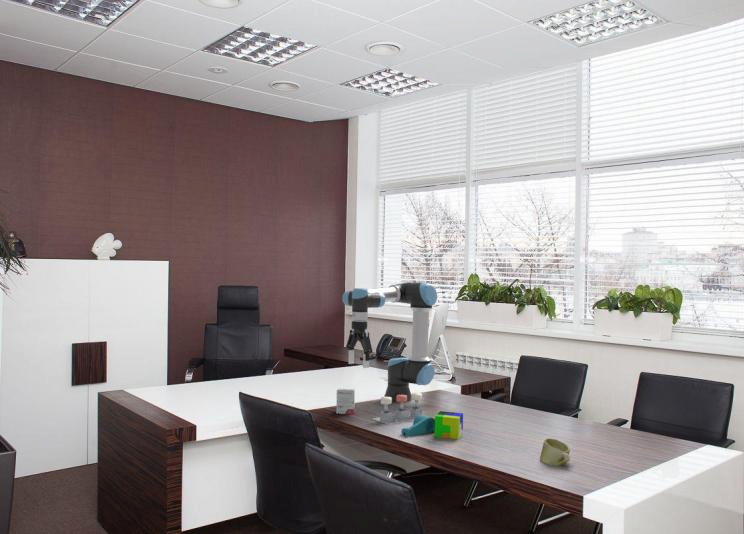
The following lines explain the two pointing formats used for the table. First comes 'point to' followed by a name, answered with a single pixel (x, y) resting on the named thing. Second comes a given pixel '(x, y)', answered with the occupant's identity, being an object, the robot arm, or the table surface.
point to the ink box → (345, 401)
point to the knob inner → (416, 398)
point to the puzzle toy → (449, 425)
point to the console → (399, 416)
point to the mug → (554, 452)
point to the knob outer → (386, 402)
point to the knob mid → (401, 400)
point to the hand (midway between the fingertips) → (358, 365)
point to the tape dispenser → (420, 426)
